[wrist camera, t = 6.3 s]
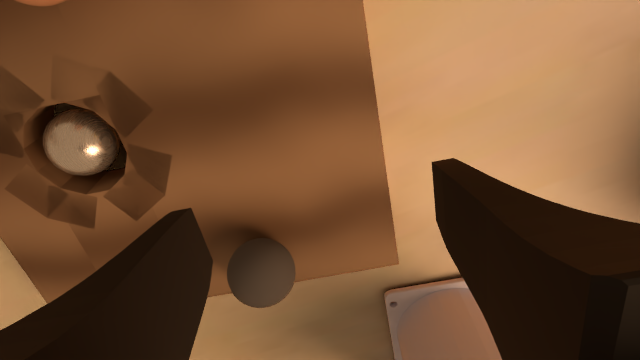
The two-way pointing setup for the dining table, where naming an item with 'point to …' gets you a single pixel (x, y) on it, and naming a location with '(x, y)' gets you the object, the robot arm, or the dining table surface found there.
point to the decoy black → (261, 272)
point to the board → (195, 132)
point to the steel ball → (80, 142)
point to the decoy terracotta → (40, 2)
